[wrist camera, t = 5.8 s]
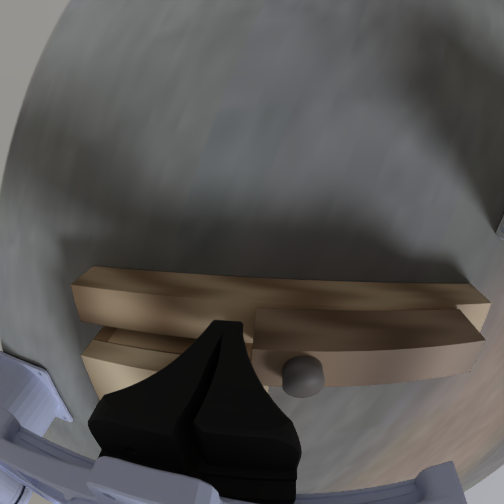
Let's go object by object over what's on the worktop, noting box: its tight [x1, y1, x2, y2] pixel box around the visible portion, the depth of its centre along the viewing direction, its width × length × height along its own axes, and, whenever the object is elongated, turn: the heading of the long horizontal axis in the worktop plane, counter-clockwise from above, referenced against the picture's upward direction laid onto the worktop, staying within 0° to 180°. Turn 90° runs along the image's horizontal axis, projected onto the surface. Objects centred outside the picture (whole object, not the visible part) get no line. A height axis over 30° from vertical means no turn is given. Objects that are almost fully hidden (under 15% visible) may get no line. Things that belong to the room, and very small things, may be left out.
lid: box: [81, 340, 269, 400], centre depth 16 cm, size 10×16×3 cm, turn 179°
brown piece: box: [71, 266, 491, 361], centre depth 18 cm, size 24×19×3 cm
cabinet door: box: [252, 308, 486, 398], centre depth 12 cm, size 11×2×4 cm, turn 89°
